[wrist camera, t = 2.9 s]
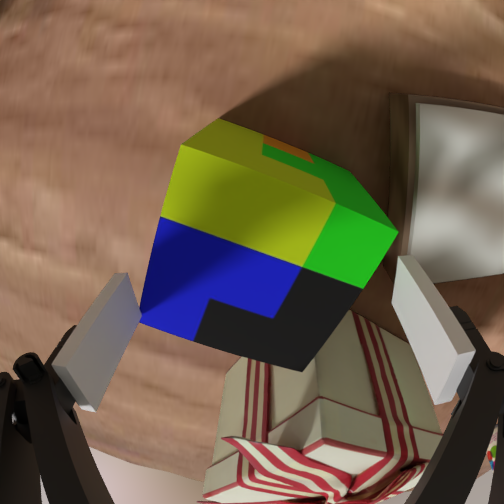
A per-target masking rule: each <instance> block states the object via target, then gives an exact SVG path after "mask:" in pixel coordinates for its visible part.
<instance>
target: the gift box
mask: <svg viewBox="0 0 504 504" xmlns="http://www.w3.org/2000/svg"><path fill="white" fill-rule="evenodd" d="M442 436H443V434H442V432H441V429H440V426H439V423H438V420H437V417H436V414H435V411H434V408H433V405H432V402H431V399H430V396H429V393H428V390H427V388H426V385H425V382H424V380H423V377H422V374H421V372H420V369H419V366H418V364H417V361H416V359H415V356H414V353H413V351H412V348H411V346H410V345H409V344H408V343H406V342H404V341H403V340H401V339H399V338H398V337H396V336H394V335H392V334H391V333H389V332H387V331H385V330H384V329H382V328H380V327H378V326H377V325H376V324H374V323H372V322H371V321H369V320H367V319H365V318H364V317H362V316H360V315H358V314H356V313H354V312H353V311H351V310H348V312H347V313H346V315H345V316H344V317H343V319H342V320H341V322H340V323H339V324H338V326H337V327H336V329H335V330H334V331H333V333H332V334H331V335H330V337H329V338H328V340H327V341H326V342H325V344H324V345H323V346H322V348H321V349H320V350H319V352H318V353H317V354H316V356H315V357H314V358H313V359H312V361H311V362H310V363H309V365H308V366H307V367H306V368H305V370H304V371H303V372H298V371H294V370H290V369H286V368H282V367H278V366H275V365H271V364H267V363H263V362H260V361H256V360H253V359H249V358H246V357H242V356H241V357H240V359H239V360H238V361H237V362H236V363H235V364H234V365H233V366H232V367H231V368H230V369H229V371H228V372H227V373H226V378H225V384H224V389H223V396H222V402H221V409H220V416H219V422H218V428H217V434H216V441H215V448H214V455H213V462H212V466H210V467H209V468H207V469H206V475H205V482H204V489H203V497H204V498H205V499H209V500H212V502H210V501H208V502H207V501H197V502H198V503H203V504H377V503H379V502H382V501H384V500H386V499H389V498H391V497H393V496H396V495H398V494H400V493H402V492H405V491H406V490H408V489H410V488H412V487H414V486H416V484H417V483H418V481H419V479H420V478H421V476H422V474H423V473H424V471H425V469H426V467H427V465H428V464H429V462H430V460H431V458H432V456H433V454H434V452H435V450H436V448H437V446H438V444H439V442H440V440H441V438H442ZM213 501H214V502H213Z"/></svg>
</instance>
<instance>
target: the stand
mask: <svg viewBox="0 0 504 504" xmlns="http://www.w3.org/2000/svg"><path fill="white" fill-rule="evenodd" d="M389 100H390V185H389V205H388V218H389V220H390V221H391V222H392V224H393V225H394V226H395V228H396V229H397V230H398V232H399V233H398V234H397V236H396V238H395V239H394V241H393V243H392V244H391V246H390V248H389V249H388V251H387V252H386V254H385V256H384V263H383V266H384V267H385V269H386V271H387V273H388V275H389V276H390V278H391V280H392V282H393V284H395V277H396V270H397V262H398V256H405V255H413V256H414V258H415V259H416V260H417V262H418V263H419V265H420V266H421V267H422V269H423V270H424V272H425V273H426V274H427V276H428V277H429V279H430V280H431V281H432V283H433V284H435V283H443V282H451V281H458V280H465V279H473V278H480V277H486V276H493V275H500V274H504V108H503V107H499V106H493V105H488V104H483V103H477V102H471V101H464V100H458V99H450V98H442V97H434V96H424V95H413V94H400V93H389Z"/></svg>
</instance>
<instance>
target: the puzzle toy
mask: <svg viewBox="0 0 504 504" xmlns="http://www.w3.org/2000/svg"><path fill="white" fill-rule="evenodd" d="M398 233H399V232H398V230H397V229H396V228H395V226H394V225H393V224H392V222H391V221H390V220H389V218H388V217H387V216H386V215H385V213H384V212H383V211H382V210H381V208H380V207H379V206H378V205H377V203H376V202H375V201H374V200H373V198H372V197H371V196H370V195H369V194H368V192H367V191H366V190H365V189H364V188H363V186H362V185H361V184H360V183H359V182H358V180H357V179H356V178H355V177H354V176H353V175H352V173H351V172H350V171H348V170H346V169H344V168H342V167H339V166H337V165H335V164H333V163H331V162H328V161H326V160H324V159H322V158H319V157H317V156H315V155H312V154H310V153H308V152H305V151H303V150H301V149H298V148H296V147H294V146H291V145H289V144H286V143H284V142H281V141H279V140H276V139H274V138H271V137H269V136H266V135H263V134H261V133H258V132H255V131H253V130H250V129H247V128H245V127H242V126H239V125H236V124H234V123H231V122H228V121H225V120H222V119H219V118H218V119H216V120H215V121H214V122H212V123H211V124H209V125H208V126H206V127H205V128H203V129H202V130H201V131H199V132H198V133H196V134H195V135H193V136H192V137H191V138H189V139H188V140H187V141H185V142H184V143H182V144H181V147H180V150H179V153H178V156H177V159H176V163H175V166H174V169H173V173H172V176H171V180H170V183H169V186H168V190H167V194H166V197H165V201H164V204H163V208H162V212H161V216H160V219H159V223H158V227H157V231H156V235H155V239H154V243H153V248H152V252H151V256H150V260H149V265H148V269H147V274H146V278H145V283H144V288H143V293H142V297H141V302H140V308H139V309H140V312H141V314H142V317H141V319H140V321H139V322H140V323H142V324H145V325H148V326H150V327H153V328H156V329H159V330H161V331H164V332H167V333H170V334H173V335H176V336H179V337H182V338H185V339H187V340H190V341H194V342H197V343H200V344H203V345H206V346H209V347H212V348H215V349H219V350H222V351H225V352H228V353H232V354H235V355H239V356H242V357H246V358H249V359H253V360H256V361H260V362H263V363H267V364H271V365H275V366H278V367H282V368H286V369H290V370H294V371H298V372H303V371H304V370H305V368H306V367H307V366H308V365H309V363H310V362H311V361H312V359H313V358H314V357H315V356H316V354H317V353H318V352H319V350H320V349H321V348H322V346H323V345H324V344H325V342H326V341H327V340H328V338H329V337H330V335H331V334H332V333H333V331H334V330H335V329H336V327H337V326H338V324H339V323H340V322H341V320H342V319H343V317H344V316H345V315H346V313H347V312H348V310H349V309H350V307H351V306H352V305H353V303H354V302H355V300H356V299H357V297H358V296H359V294H360V293H361V291H362V290H363V288H364V287H365V285H366V284H367V282H368V281H369V279H370V278H371V276H372V275H373V273H374V271H375V270H376V268H377V267H378V265H379V264H380V262H381V260H382V259H383V257H384V256H385V254H386V252H387V251H388V249H389V248H390V246H391V244H392V243H393V241H394V239H395V238H396V236H397V234H398Z"/></svg>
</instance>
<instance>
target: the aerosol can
mask: <svg viewBox="0 0 504 504" xmlns="http://www.w3.org/2000/svg"><path fill="white" fill-rule="evenodd" d="M497 432H498V424H496V425H495V429H494V432H493V435H492V438H491V441H490V444H489V447H488V449H487V452H486V454H487V456H488V459H489V462H490V465H491V468H492V471H493V472H494V465H495V456H496V446H497Z"/></svg>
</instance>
